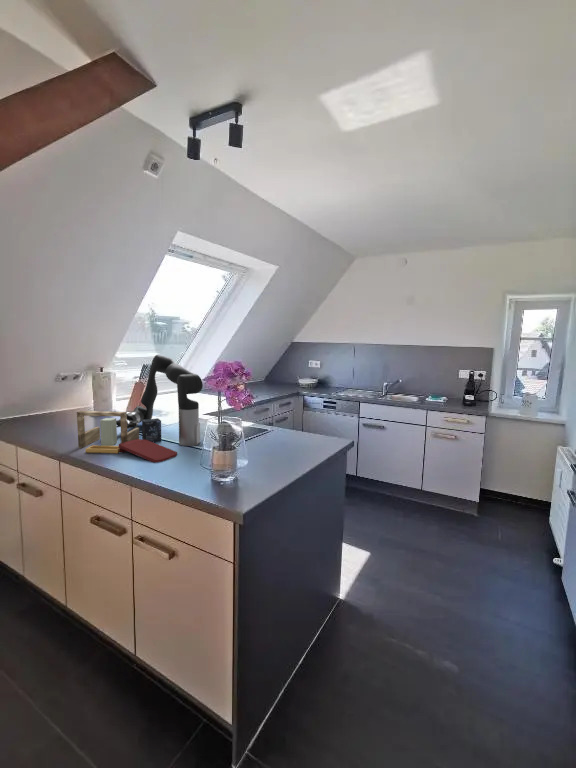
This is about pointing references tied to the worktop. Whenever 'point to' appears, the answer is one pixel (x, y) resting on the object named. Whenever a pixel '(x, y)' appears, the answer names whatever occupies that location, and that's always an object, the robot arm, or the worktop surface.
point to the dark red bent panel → (147, 450)
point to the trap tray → (103, 449)
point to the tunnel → (94, 433)
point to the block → (108, 432)
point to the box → (151, 430)
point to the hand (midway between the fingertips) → (115, 427)
